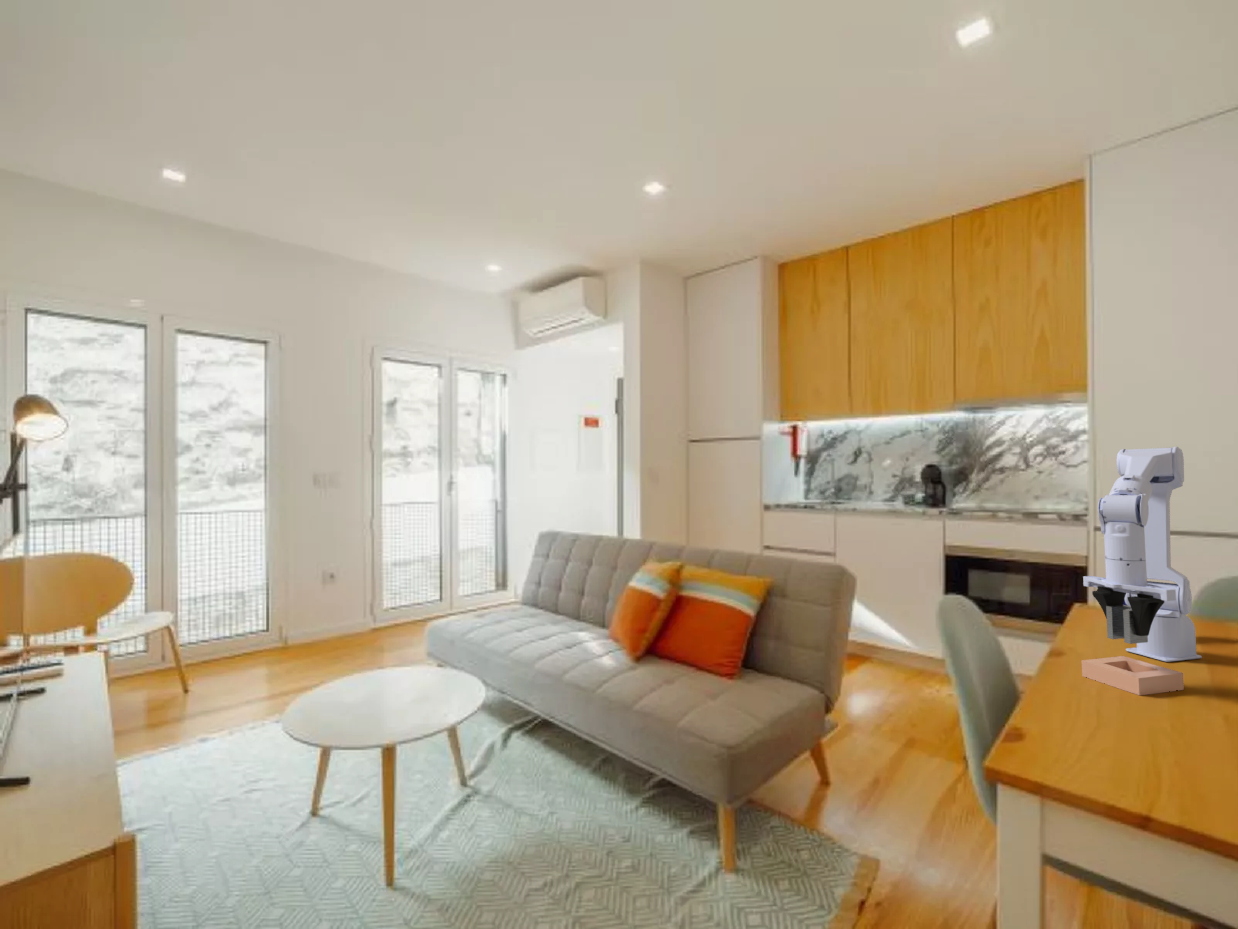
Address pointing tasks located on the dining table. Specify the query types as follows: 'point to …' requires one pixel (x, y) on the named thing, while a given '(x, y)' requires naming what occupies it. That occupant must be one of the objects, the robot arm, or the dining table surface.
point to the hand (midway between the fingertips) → (1128, 632)
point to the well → (1132, 675)
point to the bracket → (1122, 624)
